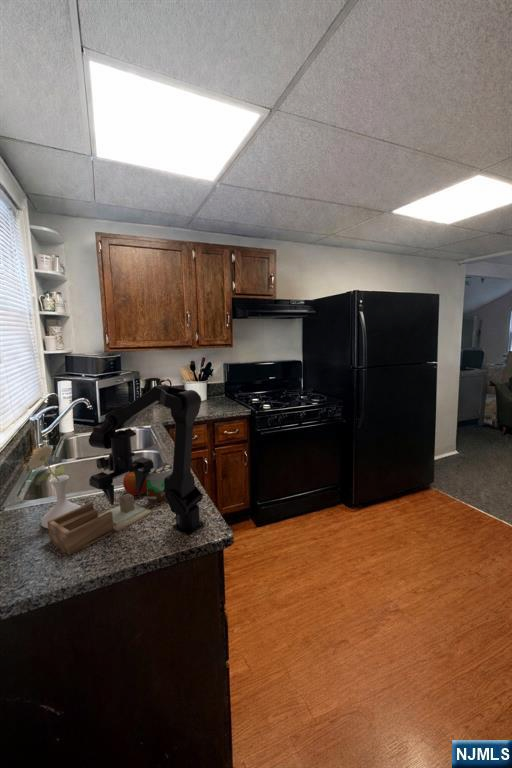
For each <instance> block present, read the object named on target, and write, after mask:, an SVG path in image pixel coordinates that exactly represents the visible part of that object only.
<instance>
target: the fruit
mask: <svg viewBox="0 0 512 768" xmlns="http://www.w3.org/2000/svg"><path fill="white" fill-rule="evenodd" d="M122 485H123V488H124V491H125V492H127V493H128V494H131V495H133V496H139V495H142V494H144V493H147V480H146V479H145V481H144V484H143V486H142V488H141V491H140V493H138V492H137V490H136V478H135V474H134V472H130V473H128V474H125V475H124V477H123V482H122Z"/></svg>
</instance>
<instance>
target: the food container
mask: <svg viewBox="0 0 512 768" xmlns="http://www.w3.org/2000/svg"><path fill="white" fill-rule="evenodd" d="M172 472H173V464H171V463H170V462H165V461H164V463H163V465H161V466H160V467H157V468H155V469H154V470H153V471H152V472H149V473H148V475H147V477H146V480H147V491H146V497H147V499H146V501H148V502H159V501H163V500H167V499H166V497H165V492H163V490H164V487H165V484H164V480H165V478H166V477H167V476H169V475H170V474H172Z"/></svg>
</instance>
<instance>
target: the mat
mask: <svg viewBox="0 0 512 768" xmlns="http://www.w3.org/2000/svg"><path fill="white" fill-rule="evenodd" d="M118 507H120V504H119V505H116V506H115V507H112V508H111V509H108V510H106V511H104V512H102V513H100V514H98V517H100V516H101V515H103V514H105V513H107V512H109V511H112V510H114V509H116V508H118ZM151 514H153V511H152V510H150V509H147V508H145V511H144V512H142V513H140V514H138V515H136V516H135V517H133V518H131V519H129V520H127V521H125V522H123V523H121V524H119V525H117V526H115V525H113V528H114V532H120V531H122V530H124V529H125V528H128V527H129V526H131V525H132V524H135V523H137V522H138V521H140V520H142V519H144V518H145V517H147V516H149V515H151Z"/></svg>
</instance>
